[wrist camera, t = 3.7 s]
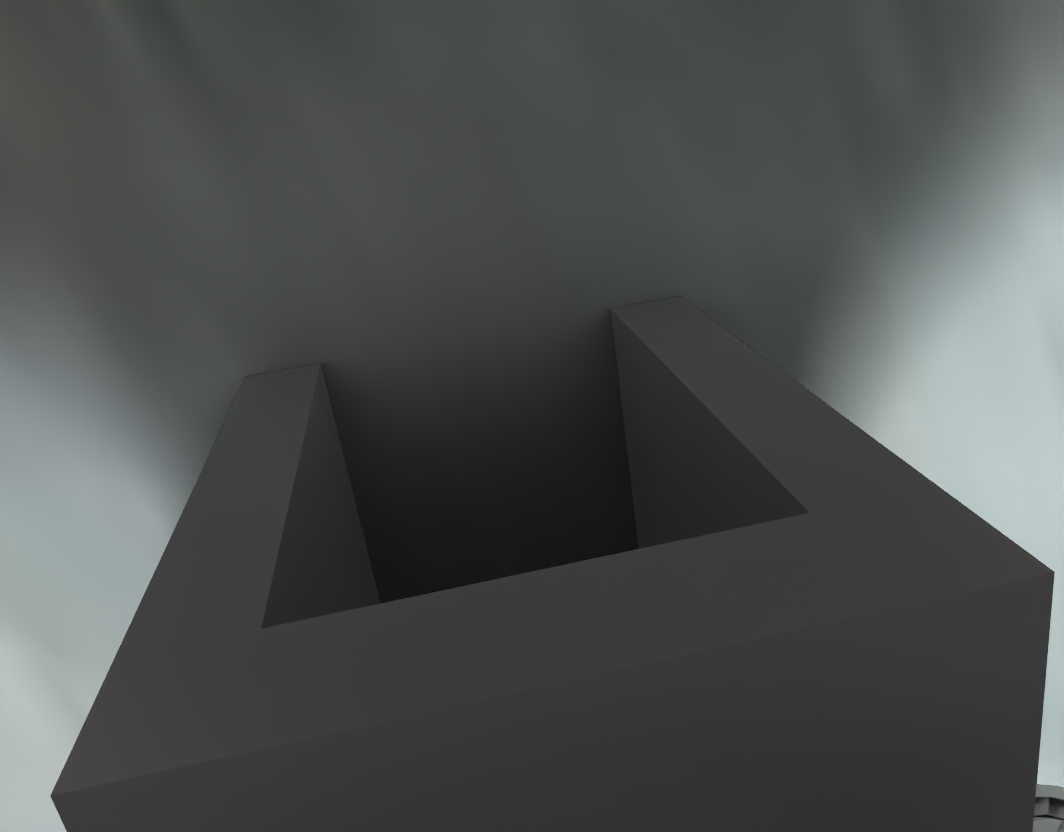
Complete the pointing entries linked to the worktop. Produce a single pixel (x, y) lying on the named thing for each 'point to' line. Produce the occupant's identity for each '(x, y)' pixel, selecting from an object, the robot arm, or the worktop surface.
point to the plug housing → (584, 639)
